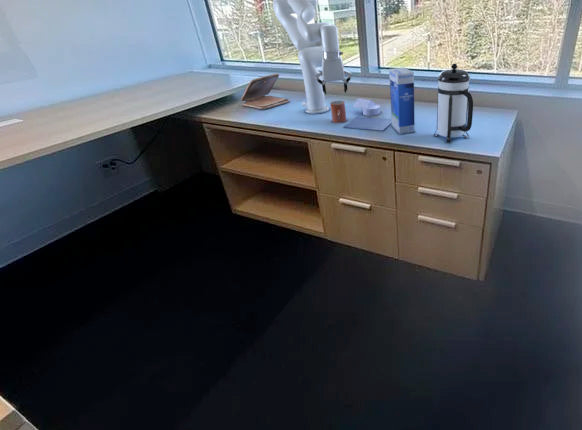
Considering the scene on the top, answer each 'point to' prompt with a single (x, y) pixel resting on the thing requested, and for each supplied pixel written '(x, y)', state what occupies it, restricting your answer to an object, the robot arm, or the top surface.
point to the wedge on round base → (367, 107)
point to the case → (262, 93)
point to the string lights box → (402, 99)
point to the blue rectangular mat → (369, 123)
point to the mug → (338, 111)
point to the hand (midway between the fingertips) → (335, 92)
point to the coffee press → (454, 103)
